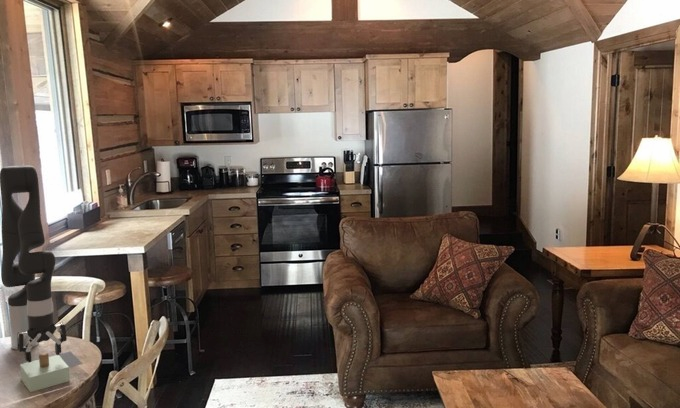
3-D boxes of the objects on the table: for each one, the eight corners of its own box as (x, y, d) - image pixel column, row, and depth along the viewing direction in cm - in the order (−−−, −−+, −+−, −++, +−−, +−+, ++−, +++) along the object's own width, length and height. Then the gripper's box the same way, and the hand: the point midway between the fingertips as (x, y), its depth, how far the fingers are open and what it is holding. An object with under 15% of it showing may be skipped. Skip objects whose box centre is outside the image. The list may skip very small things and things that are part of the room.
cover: (21, 379, 183) (19, 353, 182) (59, 368, 191) (57, 343, 190) (30, 393, 175) (28, 366, 173) (69, 381, 183) (68, 355, 181)
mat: (28, 362, 197) (28, 361, 197) (70, 352, 206) (70, 351, 206) (39, 376, 186) (39, 375, 186) (82, 364, 196) (82, 363, 196)
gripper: (60, 303, 187) (63, 348, 189) (13, 313, 178) (16, 360, 180) (67, 309, 182) (70, 355, 184) (18, 319, 172) (22, 368, 174)
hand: (43, 358), depth 182 cm, fingers open, 8 cm apart
